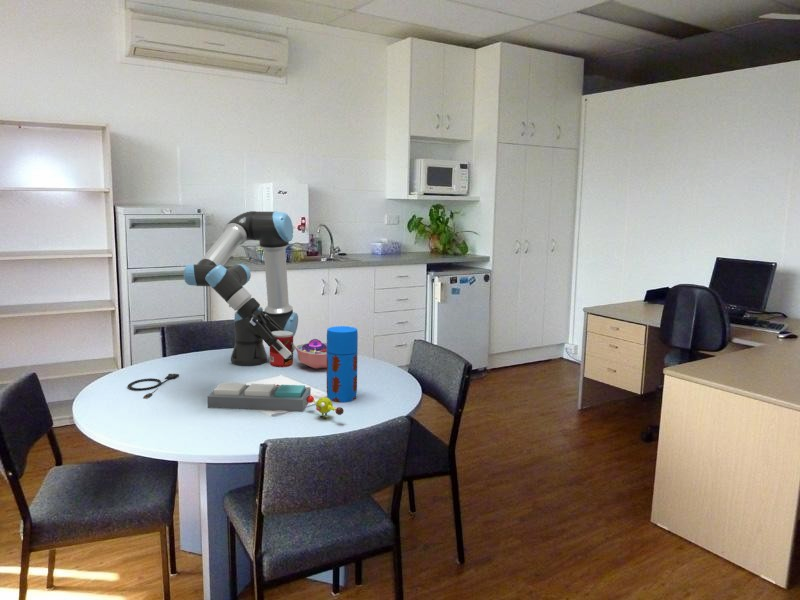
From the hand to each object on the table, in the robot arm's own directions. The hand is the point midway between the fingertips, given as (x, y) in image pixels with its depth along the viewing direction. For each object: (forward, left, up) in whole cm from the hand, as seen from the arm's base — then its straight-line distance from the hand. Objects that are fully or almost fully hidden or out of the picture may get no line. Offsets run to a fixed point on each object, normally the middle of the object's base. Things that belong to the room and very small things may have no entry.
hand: (291, 353), depth 214 cm
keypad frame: (-1, -11, -18) cm, 21 cm away
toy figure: (+11, +13, -19) cm, 25 cm away
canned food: (0, -3, -4) cm, 6 cm away
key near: (-1, -22, -16) cm, 27 cm away
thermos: (-10, +16, -19) cm, 26 cm away
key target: (-1, -1, -16) cm, 16 cm away
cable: (-15, -58, -19) cm, 63 cm away
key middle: (-1, -11, -16) cm, 20 cm away
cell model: (-49, 0, -19) cm, 52 cm away
